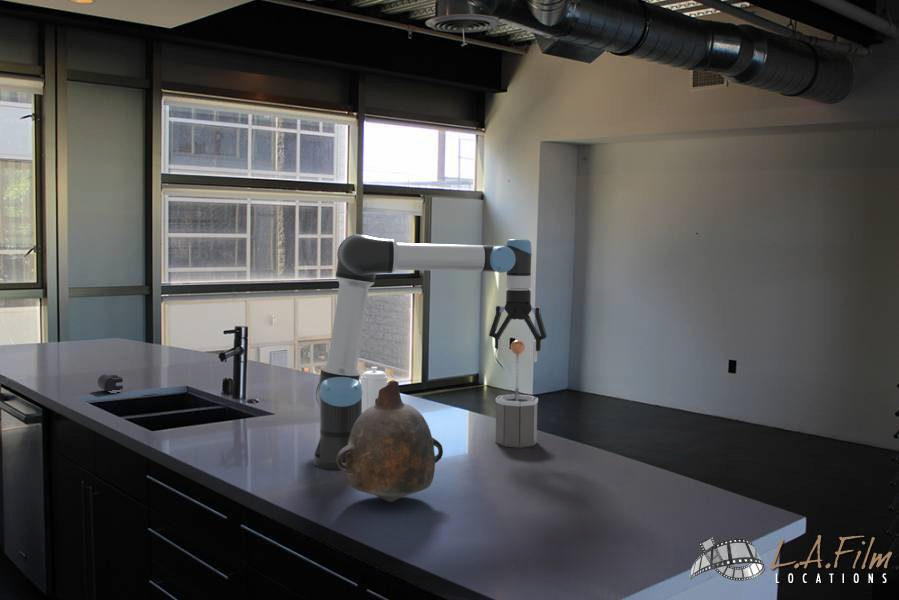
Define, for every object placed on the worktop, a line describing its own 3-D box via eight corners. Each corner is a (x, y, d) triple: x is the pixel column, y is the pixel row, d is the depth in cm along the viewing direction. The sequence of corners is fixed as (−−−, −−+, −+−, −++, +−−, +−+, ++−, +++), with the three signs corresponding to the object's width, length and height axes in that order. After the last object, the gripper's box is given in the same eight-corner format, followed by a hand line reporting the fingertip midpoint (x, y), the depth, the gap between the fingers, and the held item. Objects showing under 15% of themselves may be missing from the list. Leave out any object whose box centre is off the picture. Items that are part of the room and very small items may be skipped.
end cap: (97, 391, 337) (97, 374, 336) (115, 389, 341) (115, 373, 341) (105, 395, 329) (104, 378, 328) (123, 393, 333) (122, 376, 333)
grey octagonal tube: (531, 448, 250) (532, 403, 249) (491, 445, 254) (492, 400, 253) (542, 436, 265) (543, 393, 264) (504, 433, 269) (505, 391, 268)
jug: (392, 481, 215) (392, 367, 213) (456, 498, 202) (457, 377, 199) (321, 504, 196) (321, 379, 194) (387, 524, 183) (387, 391, 181)
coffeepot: (347, 427, 276) (347, 372, 274) (369, 412, 300) (369, 361, 299) (378, 429, 274) (378, 373, 272) (398, 413, 298) (398, 362, 297)
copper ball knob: (526, 411, 252) (528, 342, 250) (500, 409, 254) (501, 341, 253) (532, 405, 260) (533, 339, 258) (506, 403, 262) (507, 338, 261)
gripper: (557, 289, 254) (556, 360, 256) (485, 287, 261) (485, 356, 263) (552, 291, 247) (551, 364, 249) (479, 288, 254) (478, 360, 256)
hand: (517, 360), depth 256 cm, fingers open, 10 cm apart
